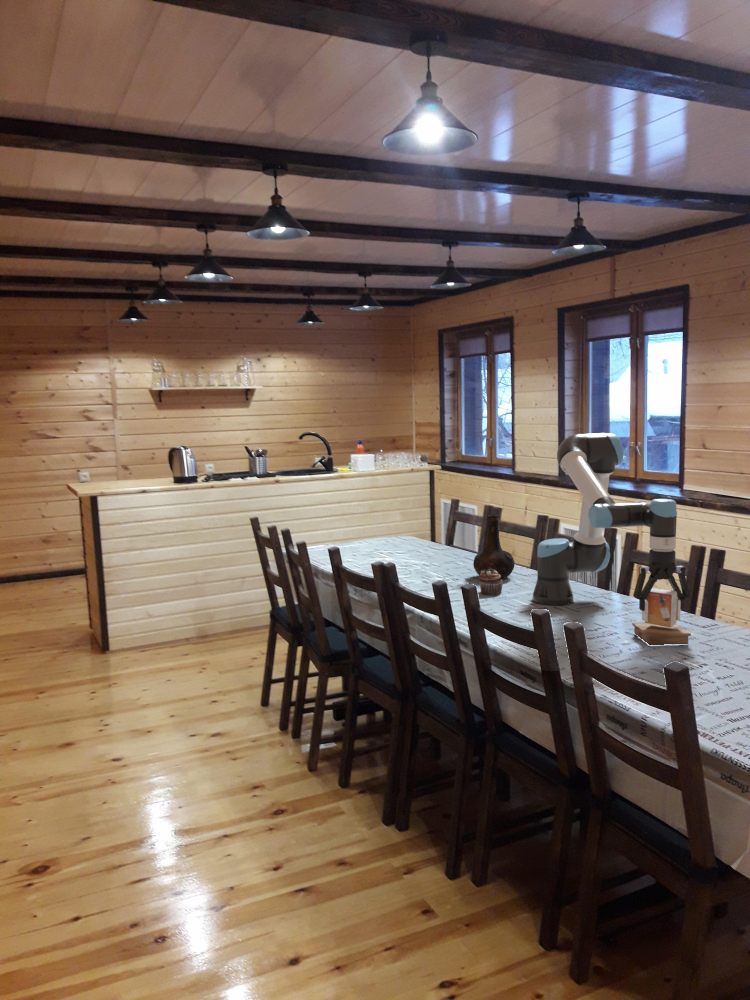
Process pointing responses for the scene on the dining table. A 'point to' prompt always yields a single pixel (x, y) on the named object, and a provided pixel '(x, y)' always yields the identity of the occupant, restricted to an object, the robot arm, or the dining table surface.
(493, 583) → the cupcake
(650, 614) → the small box
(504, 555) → the glass bottle
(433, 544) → the dining table surface
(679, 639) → the stand
